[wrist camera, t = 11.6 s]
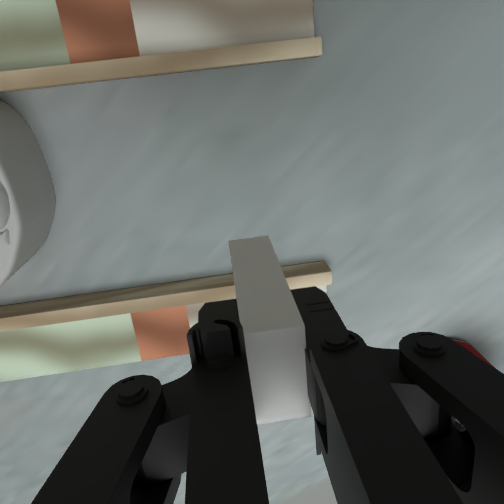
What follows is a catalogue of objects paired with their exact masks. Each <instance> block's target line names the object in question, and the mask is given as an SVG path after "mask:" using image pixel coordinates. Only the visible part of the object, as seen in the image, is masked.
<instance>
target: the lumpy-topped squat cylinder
mask: <svg viewBox="0 0 504 504" xmlns="http://www.w3.org/2000/svg"><path fill="white" fill-rule="evenodd" d="M55 207H56V197H55V192H54V187H53V183H52V180H51V176H50V173H49V170H48V167H47V164H46V161H45V159H44V156H43V154H42V151H41V149H40V147H39V145H38V143H37V140H36V138H35V136H34V134H33V132H32V130H31V128H30V126H29V125H28V123H27V122H26V120H25V119H24V118H23V117H22V115H21V114H20V113H19V112H18V111H16V110H15V109H14V108H13V107H11V106H10V105H8V104H7V103H5V102H3V101H1V100H0V287H1V286H2V285H3V284H4V283H5V282H6V281H7V280H8V279H9V278H10V277H11V276H12V275H13V274H14V273H15V272H16V271H17V270H18V269H19V268H21V267H22V266H23V265H24V264H25V263H26V262H27V261H28V260H29V259H30V258H31V257H32V256H33V255H34V254H35V253H36V252H37V251H38V250H39V249H40V247H41V246H42V245H43V244H44V242H45V241H46V239H47V237H48V235H49V232H50V229H51V225H52V222H53V217H54V213H55Z"/></svg>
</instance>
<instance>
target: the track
mask: <svg viewBox="0 0 504 504" xmlns="http://www.w3.org/2000/svg"><path fill="white" fill-rule="evenodd" d="M321 55H322V37H314V20H313V0H0V93H3V92H12V91H21V90H30V89H39V88H47V87H56V86H65V85H74V84H83V83H92V82H101V81H110V80H119V79H127V78H136V77H145V76H154V75H163V74H172V73H181V72H190V71H198V70H207V69H216V68H225V67H234V66H243V65H252V64H261V63H270V62H278V61H287V60H296V59H305V58H314V57H317V56H321ZM281 269H282V271H283V274H284V276H285V278H286V281H287V283H288V286H289V288H290V290H291V289H299V288H306V287H313V286H316V287H317V288H319V289H321V290H322V291H324V292H326V294H327V285H330V284H332V271H331V270H330V268H329V267H328V266H327V264H326V263H325V261H319V262H312V263H305V264H298V265H291V266H284V267H281ZM229 299H236V292H235V285H234V277H233V274H226V275H219V276H212V277H205V278H198V279H191V280H184V281H176V282H169V283H162V284H155V285H148V286H141V287H134V288H126V289H119V290H112V291H105V292H98V293H91V294H84V295H76V296H69V297H62V298H55V299H48V300H41V301H33V302H26V303H19V304H12V305H5V306H0V382H3V381H10V380H17V379H24V378H30V377H37V376H44V375H50V374H57V373H64V372H70V371H77V370H84V369H90V368H97V367H104V366H110V365H117V364H124V363H131V362H137V361H144V360H151V359H157V358H164V357H171V356H177V355H184V354H190V352H189V347H188V342H187V336H186V335H187V333H188V330H189V329H190V328H191V327H192V326H193V325H195V324H196V323H198V312H199V310H200V309H201V308H202V306H203V305H204V304H205V303H207V302H214V301H221V300H229Z"/></svg>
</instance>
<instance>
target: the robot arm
mask: <svg viewBox="0 0 504 504" xmlns="http://www.w3.org/2000/svg"><path fill="white" fill-rule="evenodd" d="M229 248H230V255H231V262H232V270H233V277H234V285H235V292H236V299H229V300H221V301H214V302H207V303H205V304H204V305H203V306H202V308H201V309H200V310H199V312H198V323H196V324H195V325H193V326H192V327H191V328H190V329H189V330H188V333H187V335H186V336H187V342H188V347H189V352H190V358H191V363H192V369H191V370H190V371H189V372H188V373H187V374H185V375H184V376H182V377H181V378H179V379H176V380H174V381H172V382H169V383H167V384H164V385H161V383H160V381H159V380H158V379H156V378H155V377H153V376H148V375H137V376H131V377H128V378H125V379H123V380H120V381H119V382H117V383H115V384H114V385H112V386H111V387H110V388H109V389H108V390H107V391H106V392H105V393H104V395H103V396H102V398H101V399H100V401H99V402H98V404H97V405H96V407H95V408H94V410H93V411H92V413H91V414H90V416H89V417H88V419H87V420H86V422H85V423H84V425H83V426H82V428H81V429H80V431H79V432H78V434H77V435H76V437H75V438H74V440H73V441H72V443H71V444H70V446H69V447H68V449H67V450H66V452H65V453H64V455H63V456H62V458H61V459H60V461H59V462H58V464H57V465H56V467H55V468H54V470H53V471H52V473H51V474H50V476H49V477H48V479H47V480H46V482H45V483H44V485H43V486H42V488H41V489H40V491H39V492H38V494H37V495H36V497H35V498H34V500H33V501H32V503H31V504H173V503H174V500H175V497H176V494H177V491H178V488H179V485H180V481H181V474H182V473H184V472H186V471H187V474H186V494H185V504H269V500H268V493H267V487H266V480H265V474H264V467H263V460H262V454H261V447H260V441H259V434H258V427H257V425H259V424H265V423H271V422H278V421H284V420H291V419H297V418H303V417H310V416H311V408H310V404H311V407H312V410H313V413H314V420H315V435H316V450H317V455H319V454H321V452H322V455H323V458H324V461H325V465H326V468H327V471H328V474H329V477H330V481H331V484H332V487H333V490H334V493H335V497H336V500H337V503H338V504H504V374H503V373H501V372H500V371H498V370H497V369H495V368H494V367H492V366H491V365H489V364H488V363H486V362H485V361H483V360H482V359H480V358H479V357H477V356H476V355H474V354H473V353H471V352H470V351H468V350H467V349H466V348H464V347H463V346H461V345H460V344H458V343H457V342H455V341H454V340H452V339H450V338H448V337H446V336H444V335H440V334H436V333H432V332H417V333H411V334H409V335H407V336H405V337H403V338H402V340H401V341H400V342H399V349H382V348H373V347H370V346H367V345H366V343H365V342H364V340H363V339H362V338H361V337H360V336H359V335H358V334H356V333H354V332H352V331H349V330H347V329H346V327H345V325H344V323H343V322H342V320H341V318H340V317H339V315H338V313H337V311H336V310H335V309H334V306H333V304H332V303H331V301H330V299H329V297H328V296H327V294H326V292H324V291H322V290H321V289H319V288H317V287H316V286H313V287H306V288H299V289H291V290H290V288H289V286H288V283H287V281H286V278H285V276H284V274H283V271H282V269H281V266H280V264H279V261H278V259H277V257H276V254H275V252H274V249H273V247H272V244H271V242H270V239H269V237H268V236H262V237H254V238H247V239H239V240H232V241H229ZM455 419H456V420H457V421H459V422H460V423H461V424H462V425H463V426H462V425H461V424H460V423H459V422H457V421H456V420H455Z"/></svg>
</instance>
